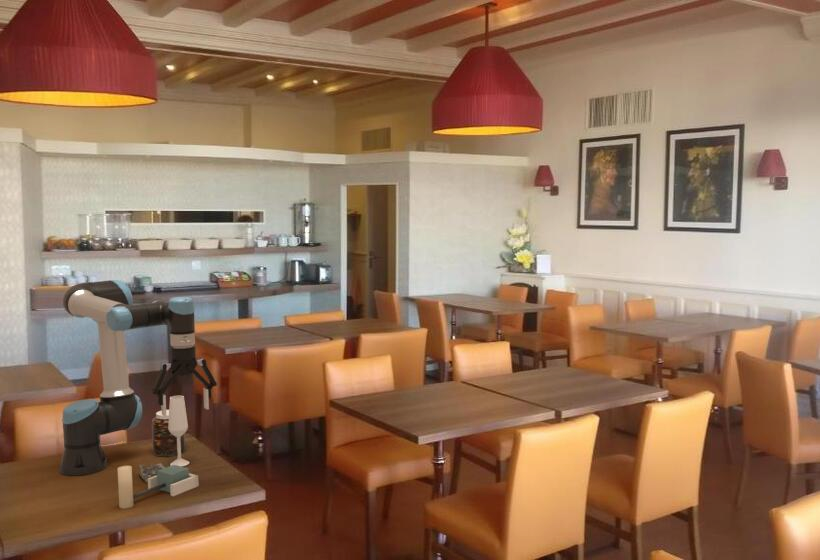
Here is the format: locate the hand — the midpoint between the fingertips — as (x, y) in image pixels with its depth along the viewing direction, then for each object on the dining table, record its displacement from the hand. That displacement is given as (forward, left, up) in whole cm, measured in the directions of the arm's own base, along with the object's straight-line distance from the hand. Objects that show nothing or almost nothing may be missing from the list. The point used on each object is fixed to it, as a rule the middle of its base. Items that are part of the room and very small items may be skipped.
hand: (185, 411), depth 249 cm
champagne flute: (-22, +15, -26) cm, 37 cm away
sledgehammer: (-5, -10, -25) cm, 28 cm away
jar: (-36, +22, -26) cm, 50 cm away
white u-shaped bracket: (-5, -2, -25) cm, 26 cm away
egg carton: (-19, +1, -26) cm, 32 cm away
